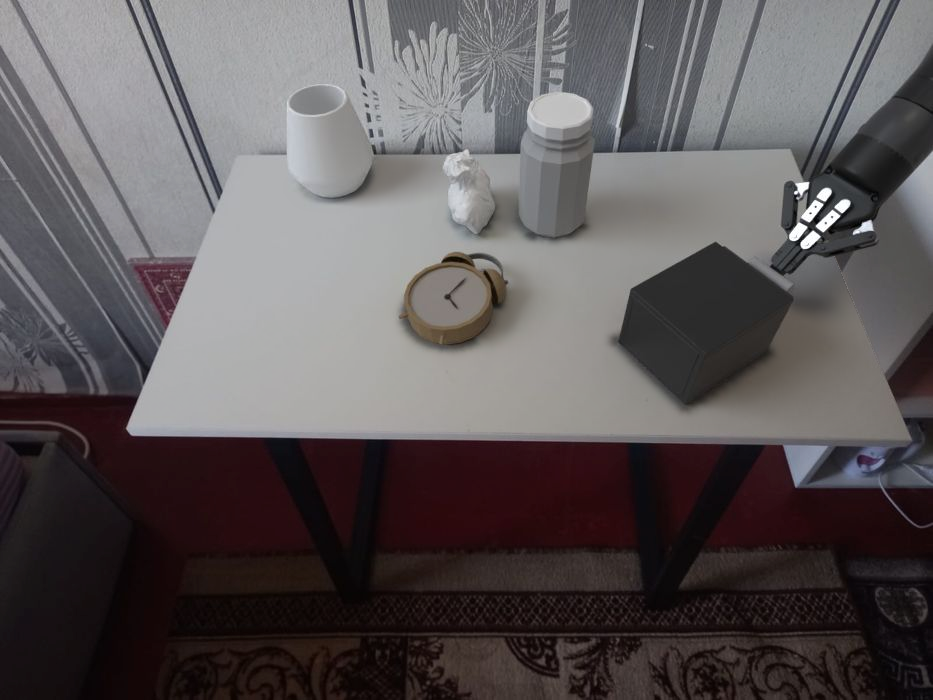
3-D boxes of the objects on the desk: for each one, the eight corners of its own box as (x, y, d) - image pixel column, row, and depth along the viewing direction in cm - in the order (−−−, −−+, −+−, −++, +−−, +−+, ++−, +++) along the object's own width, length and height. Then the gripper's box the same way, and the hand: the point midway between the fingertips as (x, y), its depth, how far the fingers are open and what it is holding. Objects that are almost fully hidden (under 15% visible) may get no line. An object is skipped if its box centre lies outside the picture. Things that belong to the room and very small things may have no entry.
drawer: (731, 276, 87) (749, 231, 81) (795, 324, 81) (819, 281, 75) (636, 331, 82) (647, 288, 75) (697, 388, 76) (715, 346, 70)
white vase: (276, 183, 104) (250, 103, 93) (339, 144, 110) (322, 65, 99) (331, 218, 98) (310, 137, 88) (395, 175, 104) (383, 95, 93)
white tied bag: (476, 200, 103) (429, 149, 97) (515, 179, 99) (468, 124, 93) (463, 253, 96) (411, 200, 90) (504, 232, 91) (452, 176, 85)
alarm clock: (384, 304, 83) (458, 226, 88) (393, 324, 87) (463, 249, 92) (450, 346, 78) (525, 262, 83) (457, 366, 83) (527, 285, 87)
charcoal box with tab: (696, 295, 86) (715, 241, 79) (766, 352, 80) (794, 299, 72) (618, 341, 82) (630, 288, 74) (685, 405, 76) (706, 354, 68)
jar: (588, 240, 93) (604, 129, 79) (519, 242, 94) (523, 132, 80) (580, 197, 99) (594, 86, 85) (516, 198, 100) (519, 89, 86)
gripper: (942, 190, 74) (827, 309, 80) (842, 135, 81) (743, 248, 87) (938, 168, 68) (814, 298, 74) (831, 111, 75) (725, 234, 81)
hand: (776, 271), depth 80 cm, fingers closed
